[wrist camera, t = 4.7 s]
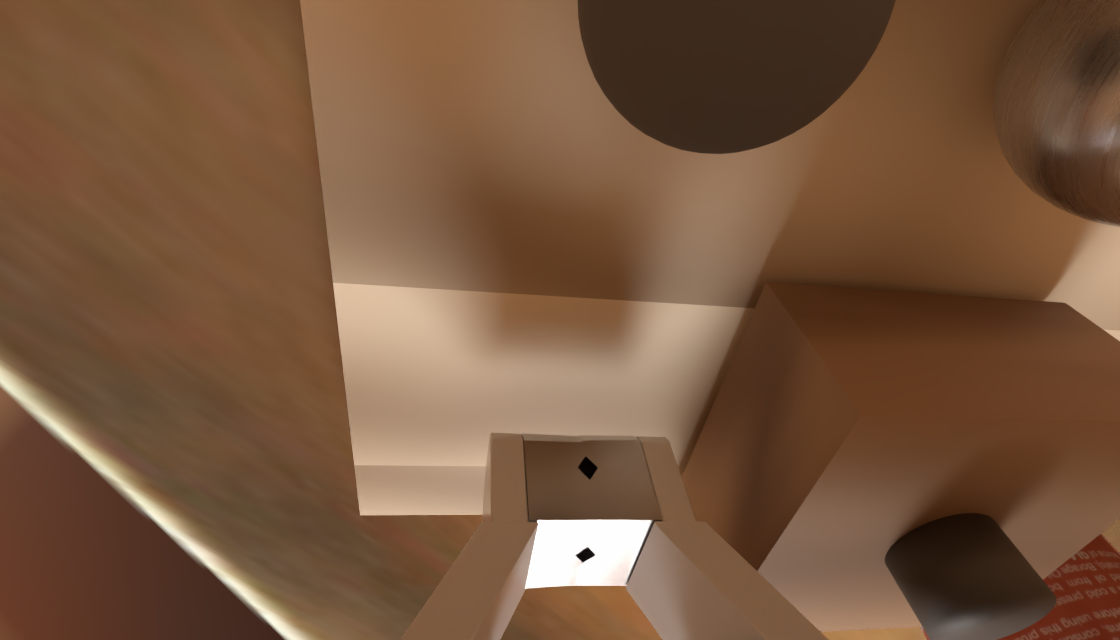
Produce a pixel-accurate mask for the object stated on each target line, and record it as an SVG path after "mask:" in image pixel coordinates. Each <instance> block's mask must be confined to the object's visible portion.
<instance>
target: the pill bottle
mask: <svg viewBox="0 0 1120 640" xmlns="http://www.w3.org/2000/svg"><path fill="white" fill-rule="evenodd" d="M1043 581H1044V582H1045V583H1046V584H1047V586H1048V587H1049V588H1050V589H1051V591H1052V592H1053V593H1054V594H1055V596H1056V598H1057V601H1056V604H1055V606H1054V608H1053V609H1052V610H1051V611H1050V612H1049V613H1048V614H1047V615H1046V616H1045V617H1043V618H1042V619H1040V620H1039V621H1037V622H1036V623H1034V624H1032V625H1031V626H1029V627H1027V628H1025V629H1023V630H1021V631H1019V632H1016V633H1014V634H1011V635H1009V636H1006V637H1003V638H1000V639H997V640H1120V553H1119V552H1118V551H1117V549H1116V548H1115V547H1114V546H1113V545H1112V544H1111V543H1110V542H1109V541H1108V540H1107V539H1106V538H1105V537H1104V536H1103V535H1102V534H1100V535H1099V536H1097V537H1096V538H1095V539H1094V540H1092V541H1091V542H1090V543H1088V544H1087V545H1086V546H1085V547H1083V548H1082V549H1081V550H1080V551H1078V552H1077V553H1076V554H1075V555H1073V556H1072V557H1071V558H1070V559H1068V560H1067V561H1066V562H1065V563H1063V564H1062V565H1061V566H1059V567H1058V568H1057V569H1056V570H1054V571H1053V572H1052V573H1051V574H1049V575H1048V576H1047V577H1046V578H1044V579H1043ZM920 629H921V630H922V632H923V633H924V635H925V637H926V639H927V640H930V639H929V637H928V635H927V634H926V632H925V630H924V629H923V627H920Z"/></svg>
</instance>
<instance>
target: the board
mask: <svg viewBox="0 0 1120 640" xmlns="http://www.w3.org/2000/svg"><path fill="white" fill-rule="evenodd" d="M1040 1H1041V0H896V1H895V4H894V8H893V11H892V14H891V17H890V19H889V22H888V24H887V27H886V30H885V32H884V34H883V36H882V38H881V40H880V42H879V44H878V46H877V48H876V50H875V52H874V53H873V55H872V57H871V58H870V60H869V61H868V63H867V65H866V66H865V68H864V69H863V71H862V72H861V73H860V74H859V76H858V77H857V78H856V80H855V81H854V82H853V84H852V85H851V86H850V87H849V88H848V89H847V90H846V91H845V92H844V94H843V95H842V96H841V97H840V98H839V99H838V100H837V101H836V102H835V103H834V104H832V105H831V106H830V107H829V108H828V109H827V110H826V111H825V112H824V113H823V114H821V115H820V116H819V117H817V118H816V119H815V120H813V121H812V122H811V123H809V124H808V125H806V126H805V127H803V128H801V129H800V130H798V131H796V132H795V133H793V134H791V135H789V136H787V137H785V138H783V139H781V140H778V141H776V142H773V143H771V144H768V145H765V146H762V147H759V148H755V149H751V150H747V151H742V152H737V153H727V154H706V153H696V152H690V151H685V150H680V149H677V148H674V147H671V146H668V145H665V144H663V143H661V142H659V141H657V140H655V139H653V138H651V137H649V136H647V135H645V134H644V133H643V132H641V131H640V130H638V129H637V128H636V127H634V126H633V125H631V124H630V123H629V122H628V121H627V120H626V119H625V118H624V117H623V116H622V115H621V114H620V113H619V112H618V111H617V110H616V109H615V108H614V106H613V105H612V104H611V102H610V101H609V100H608V99H607V97H606V96H605V95H604V93H603V91H602V90H601V88H600V86H599V84H598V83H597V81H596V79H595V77H594V75H593V72H592V70H591V68H590V65H589V63H588V60H587V57H586V53H585V50H584V46H583V42H582V39H581V33H580V26H579V19H578V0H300V5H301V13H302V22H303V31H304V39H305V48H306V56H307V65H308V73H309V82H310V90H311V99H312V107H313V116H314V124H315V133H316V142H317V150H318V159H319V167H320V176H321V184H322V193H323V201H324V210H325V218H326V227H327V235H328V244H329V252H330V261H331V270H332V278H333V287H334V295H335V304H336V312H337V321H338V329H339V338H340V346H341V355H342V363H343V372H344V381H345V389H346V398H347V406H348V415H349V423H350V432H351V440H352V449H353V457H354V466H355V474H356V483H357V491H358V500H359V509H360V515H481V514H483V496H484V482H485V470H486V462H487V453H488V444H489V436H490V434H491V433H516V434H522V433H524V434H544V435H565V436H579V435H602V436H635V437H637V436H646V437H666V438H667V439H668V441H669V442H670V445H671V447H672V450H673V453H674V456H675V459H676V462H677V465H678V468H679V471H680V474H681V477H682V475H683V473H684V471H685V468H686V466H687V464H688V461H689V459H690V457H691V454H692V452H693V450H694V447H695V445H696V443H697V441H698V438H699V436H700V434H701V431H702V429H703V427H704V424H705V422H706V420H707V417H708V415H709V413H710V410H711V408H712V406H713V404H714V401H715V399H716V397H717V394H718V392H719V390H720V387H721V385H722V383H723V380H724V378H725V376H726V374H727V371H728V369H729V367H730V364H731V362H732V360H733V357H734V355H735V353H736V350H737V348H738V346H739V343H740V341H741V339H742V337H743V334H744V332H745V330H746V327H747V325H748V323H749V320H750V318H751V316H752V313H753V311H754V309H755V307H756V304H757V302H758V300H759V297H760V295H761V293H762V290H763V288H764V286H765V283H766V282H774V283H789V284H803V285H817V286H832V287H846V288H861V289H875V290H889V291H904V292H918V293H932V294H947V295H961V296H975V297H990V298H1004V299H1019V300H1033V301H1047V302H1062V303H1066V304H1068V305H1069V306H1071V307H1072V308H1073V309H1075V310H1076V311H1078V312H1079V313H1080V314H1082V315H1083V316H1085V317H1086V318H1087V319H1089V320H1090V321H1092V322H1093V323H1095V324H1096V325H1097V326H1099V327H1100V328H1102V329H1103V330H1104V331H1106V332H1107V333H1109V334H1110V335H1112V336H1113V337H1114V338H1116V339H1117V340H1119V341H1120V227H1116V226H1111V225H1105V224H1101V223H1097V222H1093V221H1090V220H1086V219H1083V218H1080V217H1078V216H1075V215H1073V214H1070V213H1068V212H1066V211H1064V210H1061V209H1059V208H1057V207H1055V206H1054V205H1052V204H1051V203H1049V202H1047V201H1046V200H1044V199H1043V198H1041V197H1040V196H1038V195H1037V194H1035V193H1034V192H1033V191H1032V190H1031V189H1030V188H1029V187H1028V186H1027V185H1026V184H1025V183H1024V182H1023V181H1022V180H1021V179H1020V178H1019V177H1018V176H1017V175H1016V174H1015V173H1014V171H1013V169H1012V168H1011V166H1010V165H1009V163H1008V162H1007V160H1006V158H1005V156H1004V155H1003V153H1002V150H1001V147H1000V144H999V141H998V138H997V135H996V131H995V124H994V94H995V88H996V83H997V79H998V76H999V73H1000V69H1001V66H1002V63H1003V61H1004V58H1005V56H1006V54H1007V51H1008V49H1009V47H1010V45H1011V43H1012V41H1013V39H1014V37H1015V36H1016V34H1017V32H1018V31H1019V29H1020V28H1021V26H1022V24H1023V23H1024V21H1025V20H1026V19H1027V17H1028V16H1029V15H1030V13H1031V12H1032V11H1033V9H1034V8H1035V7H1036V6H1037V5H1038V3H1039V2H1040Z"/></svg>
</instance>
